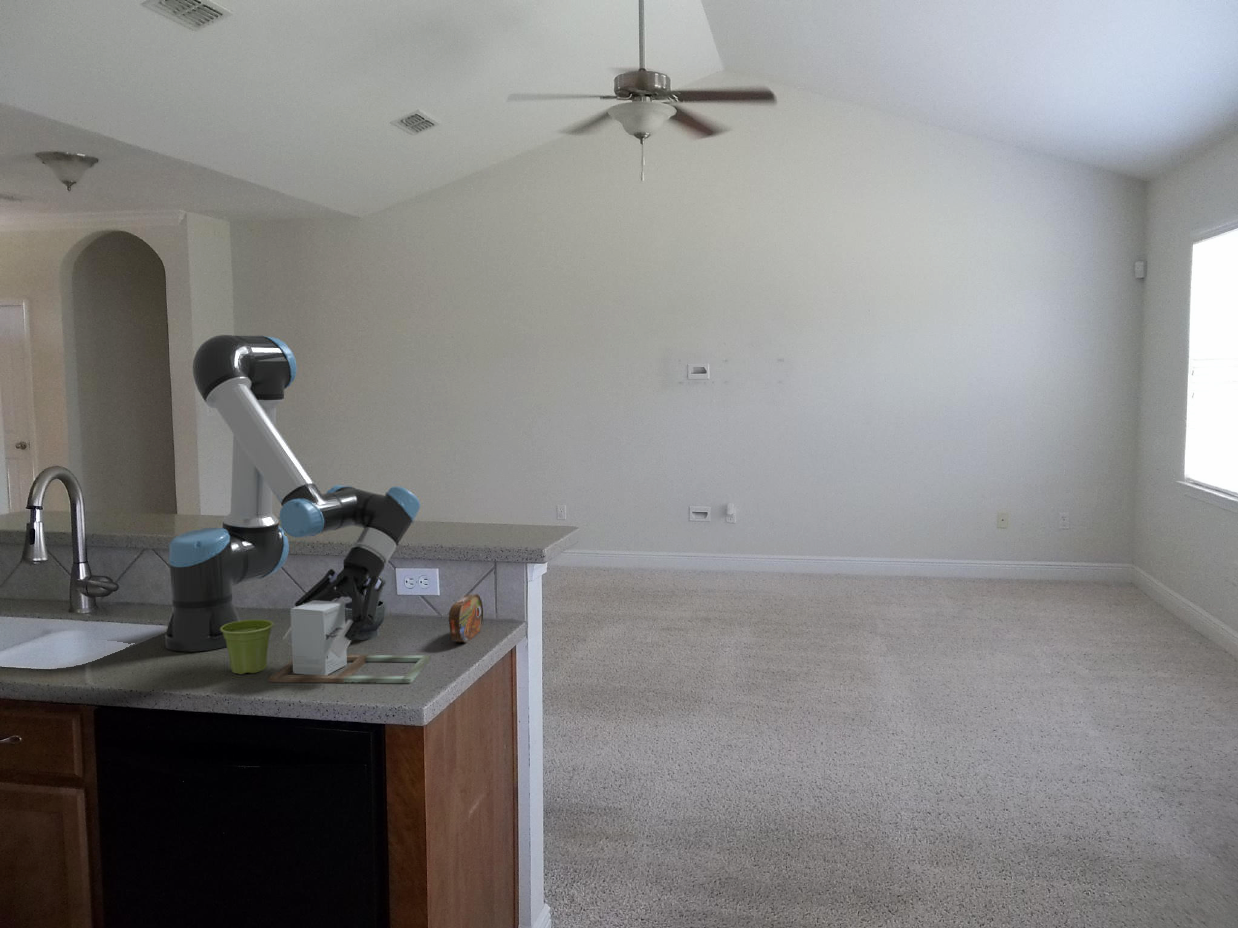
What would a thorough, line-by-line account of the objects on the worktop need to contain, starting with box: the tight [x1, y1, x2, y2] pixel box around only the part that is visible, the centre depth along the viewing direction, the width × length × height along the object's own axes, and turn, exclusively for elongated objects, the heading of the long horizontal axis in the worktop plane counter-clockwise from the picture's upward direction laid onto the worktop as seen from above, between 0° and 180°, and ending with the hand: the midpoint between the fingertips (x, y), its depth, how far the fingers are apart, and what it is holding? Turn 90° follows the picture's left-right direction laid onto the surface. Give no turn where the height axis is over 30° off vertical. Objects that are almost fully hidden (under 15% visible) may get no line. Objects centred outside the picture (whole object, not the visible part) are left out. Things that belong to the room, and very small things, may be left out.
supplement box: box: [290, 600, 348, 675], centre depth 181 cm, size 7×7×13 cm
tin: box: [448, 593, 484, 644], centre depth 203 cm, size 15×3×8 cm, turn 170°
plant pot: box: [220, 619, 274, 675], centre depth 182 cm, size 9×9×9 cm
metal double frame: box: [268, 654, 432, 684], centre depth 181 cm, size 26×14×1 cm, turn 86°
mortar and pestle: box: [344, 576, 388, 641], centre depth 205 cm, size 11×9×12 cm
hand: (311, 648), depth 179 cm, fingers open, 13 cm apart
